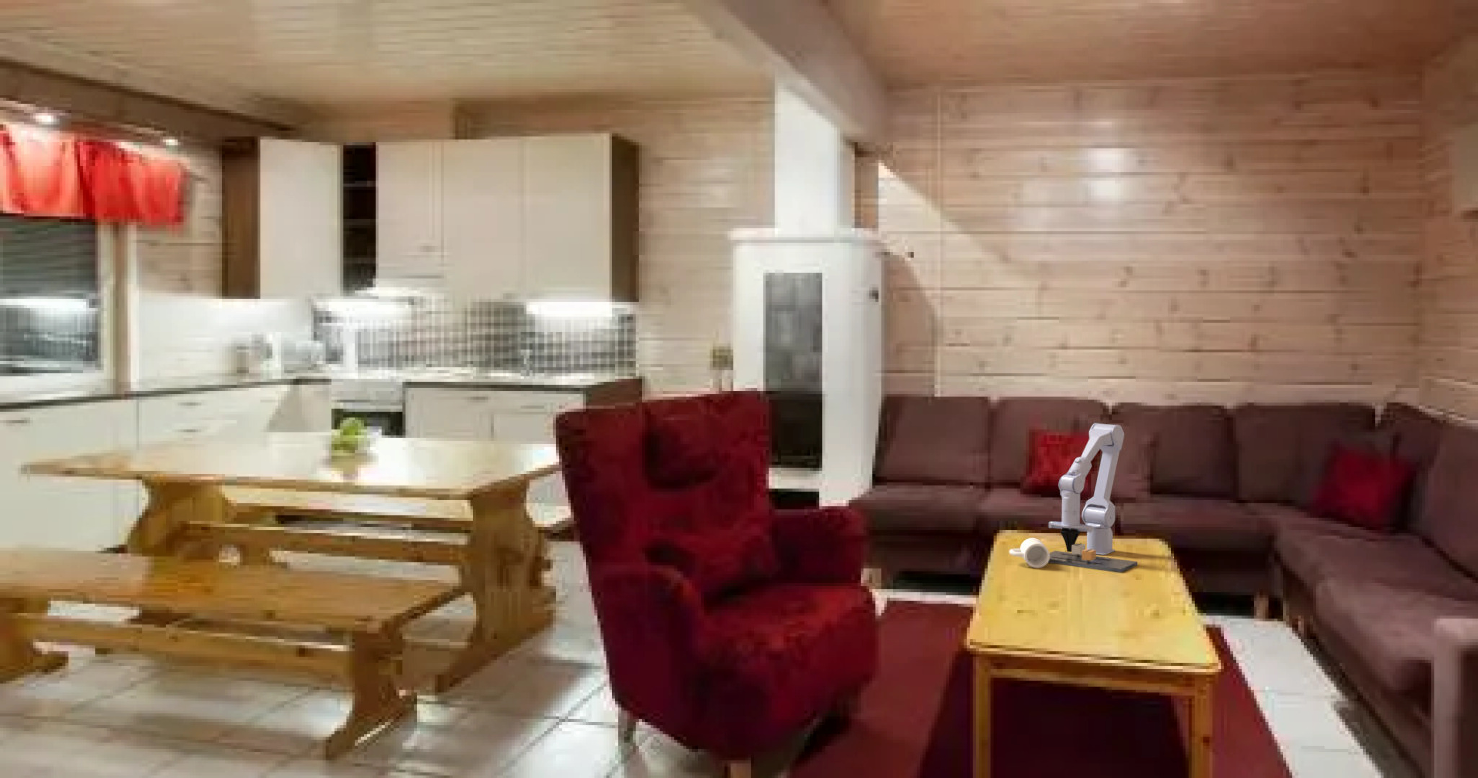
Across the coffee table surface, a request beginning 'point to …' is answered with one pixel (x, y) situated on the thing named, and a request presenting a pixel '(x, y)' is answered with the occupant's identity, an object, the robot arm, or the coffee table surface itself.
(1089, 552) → the orange fader
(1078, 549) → the cream fader
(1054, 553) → the mixer board
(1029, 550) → the mug
